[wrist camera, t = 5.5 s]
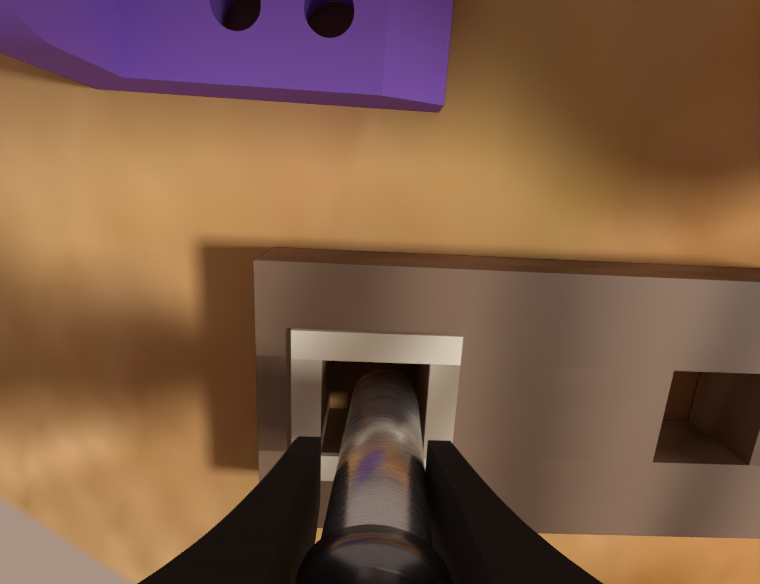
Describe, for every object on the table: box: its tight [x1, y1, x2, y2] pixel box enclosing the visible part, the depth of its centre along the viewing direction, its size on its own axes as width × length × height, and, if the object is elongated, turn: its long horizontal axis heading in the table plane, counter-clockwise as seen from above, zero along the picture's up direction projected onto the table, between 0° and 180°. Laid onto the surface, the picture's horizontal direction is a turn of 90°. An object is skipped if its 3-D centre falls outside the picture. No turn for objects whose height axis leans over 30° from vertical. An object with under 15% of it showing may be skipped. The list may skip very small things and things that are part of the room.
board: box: [253, 247, 760, 539], centre depth 16 cm, size 20×10×3 cm, turn 87°
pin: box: [295, 369, 452, 584], centre depth 11 cm, size 3×3×8 cm
